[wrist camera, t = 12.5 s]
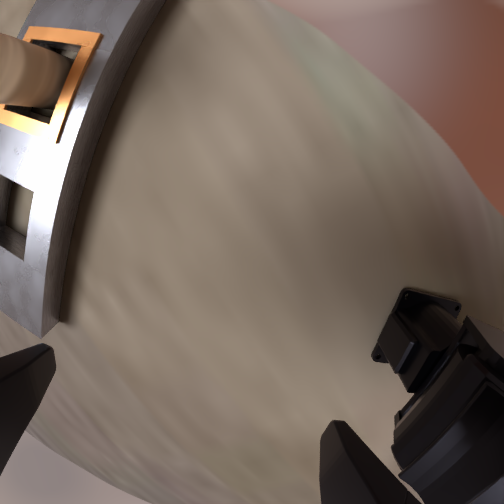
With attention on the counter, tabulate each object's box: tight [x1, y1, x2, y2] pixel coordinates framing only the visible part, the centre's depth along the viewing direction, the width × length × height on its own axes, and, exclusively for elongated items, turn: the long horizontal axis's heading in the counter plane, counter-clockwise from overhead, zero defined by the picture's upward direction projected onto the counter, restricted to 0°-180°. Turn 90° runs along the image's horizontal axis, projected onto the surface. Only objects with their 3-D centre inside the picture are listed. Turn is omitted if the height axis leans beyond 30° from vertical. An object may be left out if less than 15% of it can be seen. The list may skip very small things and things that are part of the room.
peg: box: [0, 33, 75, 110], centre depth 10 cm, size 4×4×14 cm
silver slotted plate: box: [0, 0, 166, 338], centre depth 17 cm, size 28×10×3 cm, turn 156°
